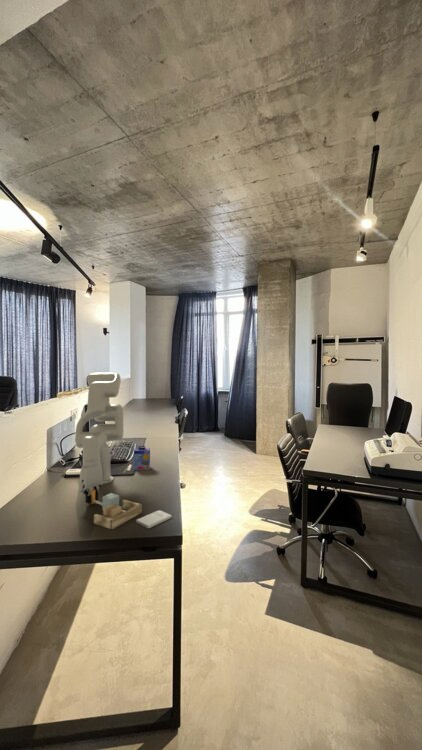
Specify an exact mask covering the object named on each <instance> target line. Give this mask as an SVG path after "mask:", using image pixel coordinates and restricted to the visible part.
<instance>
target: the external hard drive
mask: <svg viewBox="0 0 422 750" xmlns="http://www.w3.org/2000/svg"><path fill="white" fill-rule="evenodd" d="M172 518H173V516H172V514H169V513H167V512H165V511H162V510H160V509H159V510H156V511H153V512H151V513H149V514H147V515H145V516H142V517H139V518H137V519H135V523H136V524H138V525H141V526H142V527H143V528H147V529H150V528H153V527H154V526H157V525H159V524H161V523H163V522H165V521H168V520H169V519H172Z"/></svg>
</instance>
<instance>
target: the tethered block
mask: <svg viewBox="0 0 422 750" xmlns="http://www.w3.org/2000/svg"><path fill="white" fill-rule="evenodd" d="M90 495H91V498H92V503H91V504H90V505H94V504H98V505H101V507H102V511H103V509H104V508H106V507H108V506H110V505H112V504H114V505H117V506H120V495H118V494H117V493H116V494H115V493H112V492H110V493H107V494H105V495H103V496H102V501H101V500H100V501H99V500H98V501H96V500H95V489H93V488H91V493H90Z"/></svg>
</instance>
